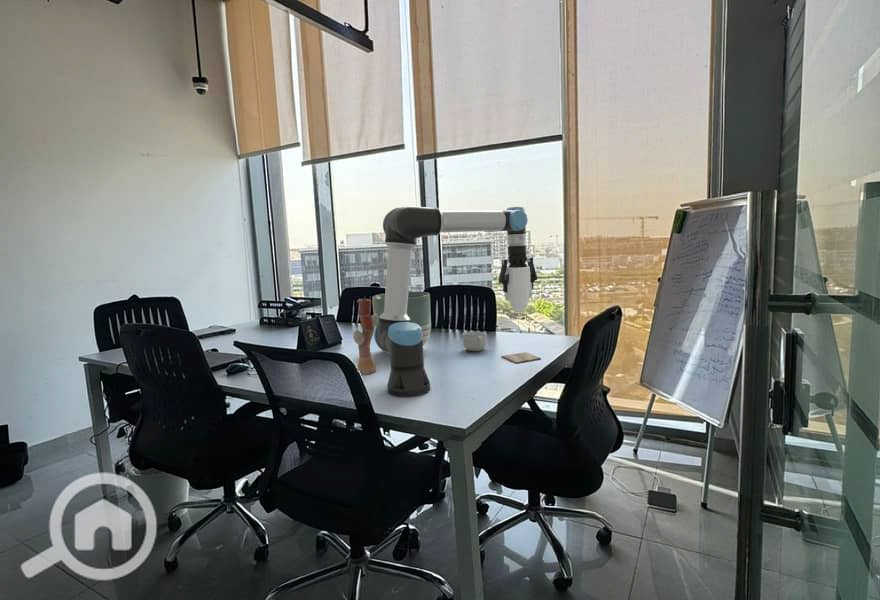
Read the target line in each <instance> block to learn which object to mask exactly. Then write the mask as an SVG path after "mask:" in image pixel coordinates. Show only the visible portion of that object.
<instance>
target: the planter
mask: <svg viewBox="0 0 880 600" xmlns="http://www.w3.org/2000/svg"><path fill="white" fill-rule="evenodd" d="M371 298H372V300H371V302H372V309H373V311H372V312H373V314H375V313H376V314H377V315H378V323H377V325H376V326H375V327H374V330H375V329H376V327H377V326H378V325H379V316H380V315H381V314H383V312H384V302H385V293H380V294H376V295H373V296H371ZM431 314H432V313H431V294H430V292H428V291H427V292H425V291H408V303H407V316H408V317H409V318H410V323H416V324H418V325H419V326H420V327H421V329H422V334H423V347H424V346H425V345H426V344H427V343H428V341H429V339H430V336H431V331H432V320H431V319H432V318H431V317H432V316H431Z"/></svg>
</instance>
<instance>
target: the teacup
mask: <svg viewBox="0 0 880 600" xmlns="http://www.w3.org/2000/svg"><path fill="white" fill-rule="evenodd" d="M462 341H463V342H462V343H463V347H464V348H465V349H466V350H467V351H470V352H480V351H483V349H485V347H486V344H487V333H486V332H483V331H465V332H464V333H462Z"/></svg>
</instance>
